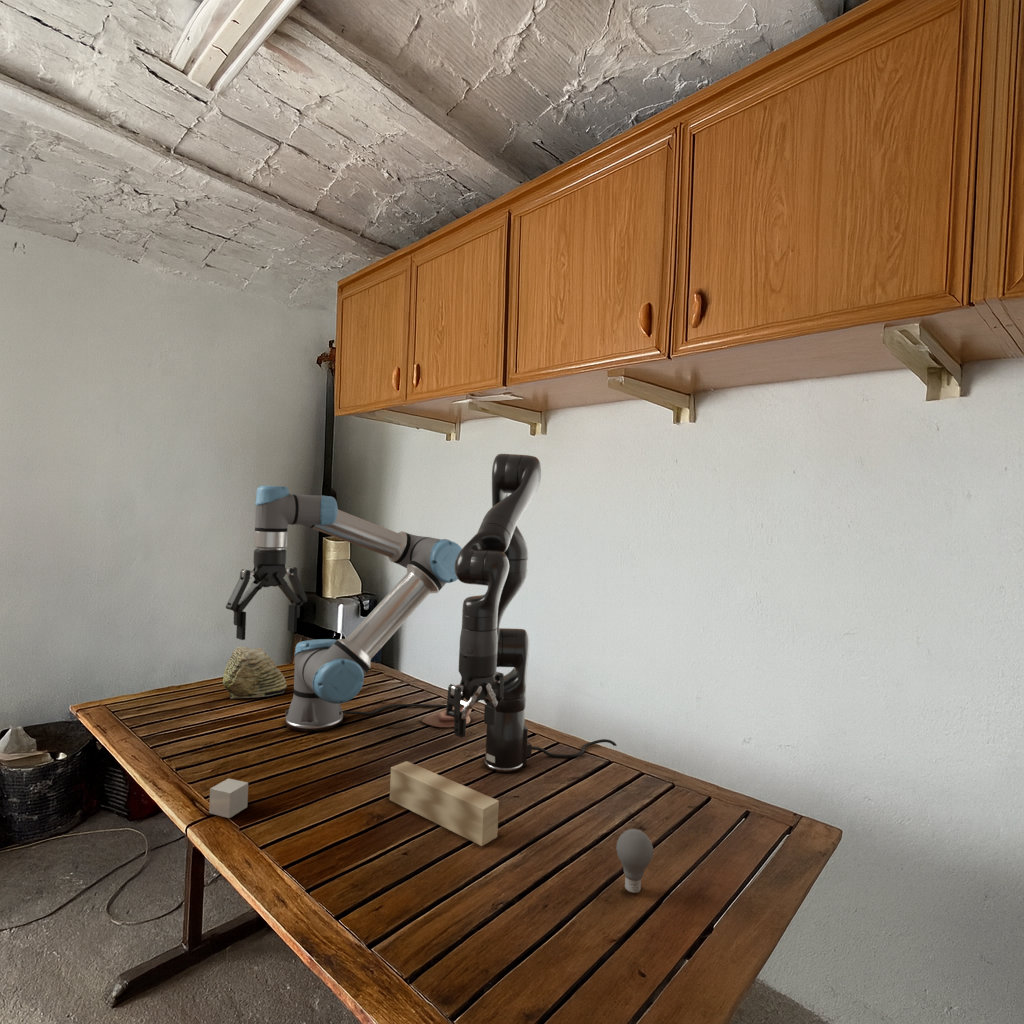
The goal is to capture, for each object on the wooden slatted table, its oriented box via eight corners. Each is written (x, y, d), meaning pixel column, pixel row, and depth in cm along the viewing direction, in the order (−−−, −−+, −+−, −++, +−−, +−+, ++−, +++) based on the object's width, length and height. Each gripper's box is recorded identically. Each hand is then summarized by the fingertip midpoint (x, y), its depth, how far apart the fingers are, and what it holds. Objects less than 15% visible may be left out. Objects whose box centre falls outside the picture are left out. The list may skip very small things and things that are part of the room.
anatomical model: (418, 710, 178) (431, 698, 189) (418, 724, 178) (431, 711, 189) (464, 716, 175) (474, 703, 186) (463, 730, 175) (474, 716, 186)
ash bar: (389, 800, 134) (390, 767, 133) (405, 792, 137) (406, 760, 137) (481, 846, 117) (483, 809, 117) (497, 837, 121) (499, 800, 121)
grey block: (227, 802, 130) (228, 778, 130) (247, 807, 128) (248, 782, 128) (208, 813, 125) (209, 788, 125) (229, 818, 123) (230, 793, 123)
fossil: (218, 695, 195) (220, 647, 195) (278, 685, 208) (279, 640, 207) (228, 703, 189) (230, 653, 188) (289, 692, 201) (290, 645, 201)
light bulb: (610, 879, 108) (613, 822, 108) (644, 879, 109) (647, 822, 109) (619, 902, 102) (622, 840, 102) (655, 901, 103) (658, 840, 103)
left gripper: (306, 545, 167) (303, 625, 167) (212, 549, 148) (209, 639, 148) (323, 548, 162) (320, 630, 163) (228, 551, 143) (225, 645, 143)
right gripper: (487, 640, 133) (484, 715, 134) (439, 652, 122) (435, 734, 123) (515, 647, 128) (511, 725, 129) (467, 660, 117) (463, 746, 118)
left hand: (267, 635), depth 155 cm, fingers open, 13 cm apart
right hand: (474, 729), depth 126 cm, fingers open, 8 cm apart
